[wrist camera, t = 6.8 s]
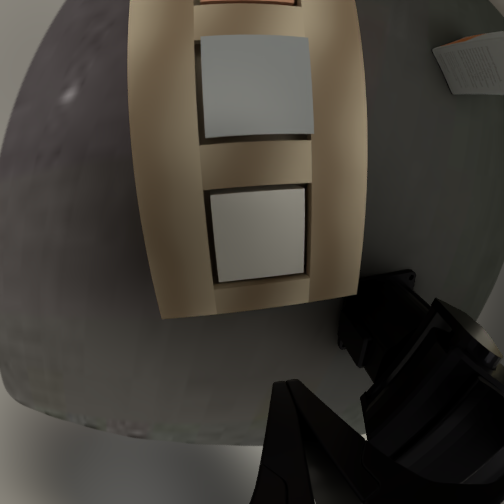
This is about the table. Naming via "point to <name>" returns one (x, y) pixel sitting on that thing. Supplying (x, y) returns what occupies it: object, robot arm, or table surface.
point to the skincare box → (473, 64)
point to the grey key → (256, 85)
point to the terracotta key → (274, 0)
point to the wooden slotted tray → (245, 152)
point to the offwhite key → (258, 230)
